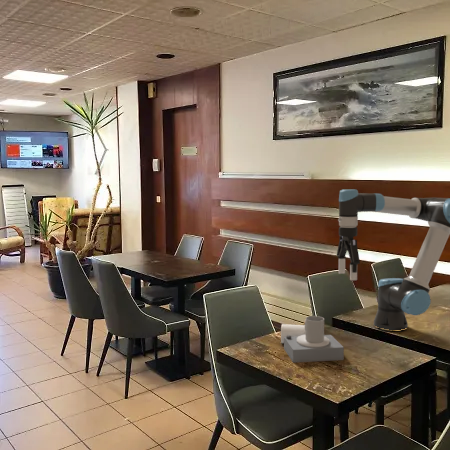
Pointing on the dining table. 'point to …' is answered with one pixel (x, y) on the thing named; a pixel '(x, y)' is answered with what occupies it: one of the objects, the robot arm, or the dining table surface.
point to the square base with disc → (313, 349)
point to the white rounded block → (291, 331)
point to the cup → (314, 329)
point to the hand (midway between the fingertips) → (347, 276)
